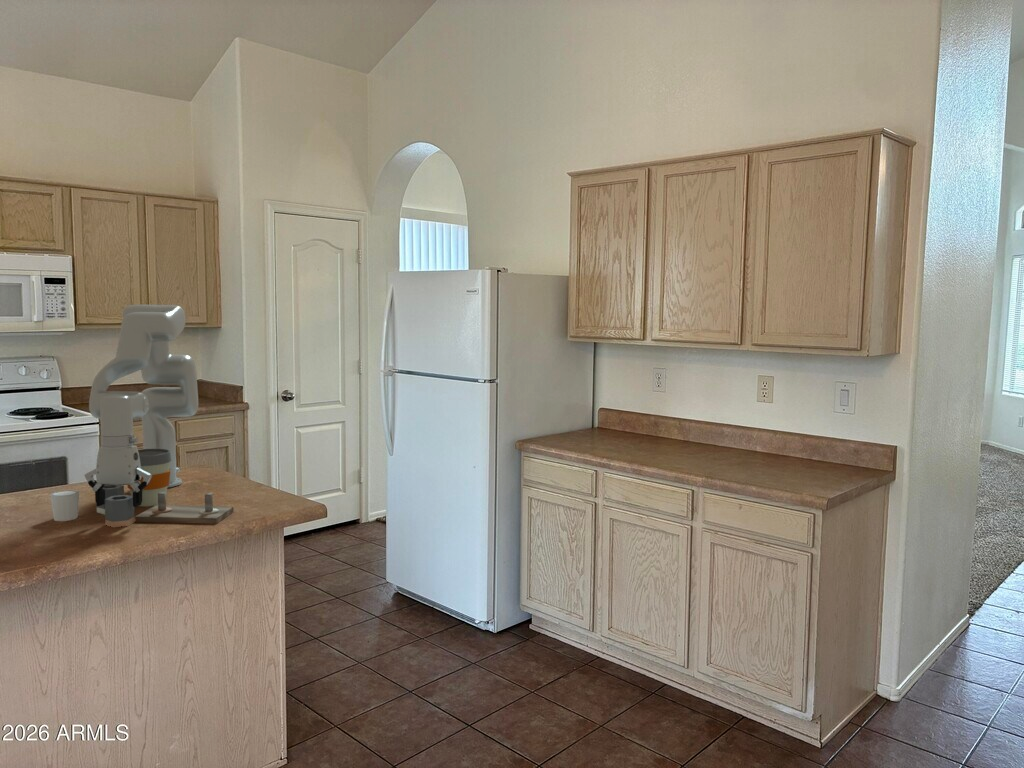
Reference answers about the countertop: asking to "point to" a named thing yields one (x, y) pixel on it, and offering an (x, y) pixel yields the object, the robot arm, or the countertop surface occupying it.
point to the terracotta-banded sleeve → (119, 511)
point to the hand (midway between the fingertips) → (119, 505)
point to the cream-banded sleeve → (110, 494)
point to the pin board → (184, 512)
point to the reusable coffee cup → (154, 474)
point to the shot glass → (65, 505)
